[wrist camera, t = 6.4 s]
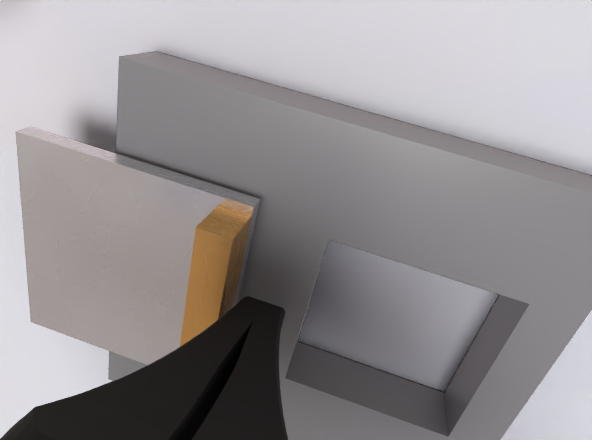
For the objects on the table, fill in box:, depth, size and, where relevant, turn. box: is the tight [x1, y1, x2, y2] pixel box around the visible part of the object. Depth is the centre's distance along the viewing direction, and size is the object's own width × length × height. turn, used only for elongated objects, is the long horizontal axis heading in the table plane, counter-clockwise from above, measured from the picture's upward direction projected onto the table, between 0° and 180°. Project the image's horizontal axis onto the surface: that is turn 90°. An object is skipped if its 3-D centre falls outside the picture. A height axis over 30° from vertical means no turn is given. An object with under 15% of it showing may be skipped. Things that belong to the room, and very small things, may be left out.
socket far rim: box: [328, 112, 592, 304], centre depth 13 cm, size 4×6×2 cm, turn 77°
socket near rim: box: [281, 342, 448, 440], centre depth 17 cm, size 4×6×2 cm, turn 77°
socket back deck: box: [108, 51, 368, 391], centre depth 16 cm, size 13×7×2 cm, turn 167°
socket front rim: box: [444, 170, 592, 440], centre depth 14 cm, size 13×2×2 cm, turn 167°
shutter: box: [16, 127, 260, 365], centre depth 14 cm, size 8×8×2 cm
